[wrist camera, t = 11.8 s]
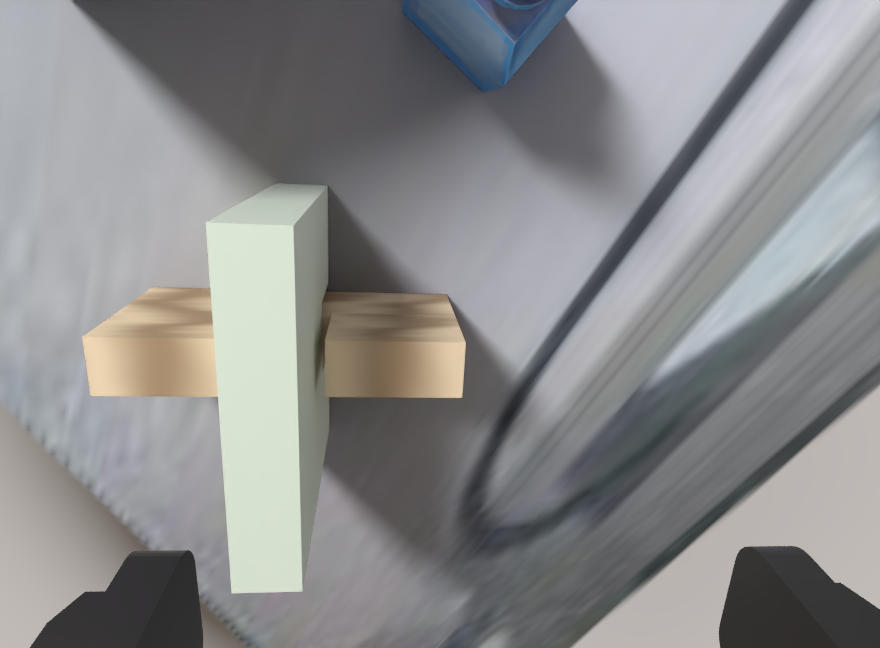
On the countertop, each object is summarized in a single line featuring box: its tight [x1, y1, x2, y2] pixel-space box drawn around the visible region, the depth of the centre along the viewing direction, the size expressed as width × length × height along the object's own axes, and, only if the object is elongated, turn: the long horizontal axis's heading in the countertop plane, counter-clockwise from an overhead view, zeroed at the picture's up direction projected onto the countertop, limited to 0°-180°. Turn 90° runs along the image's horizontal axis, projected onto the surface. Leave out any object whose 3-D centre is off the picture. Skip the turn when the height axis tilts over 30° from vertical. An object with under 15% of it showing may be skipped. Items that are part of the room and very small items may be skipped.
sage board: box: [206, 183, 329, 593], centre depth 31 cm, size 3×16×15 cm, turn 177°
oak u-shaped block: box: [82, 287, 466, 398], centre depth 33 cm, size 18×3×9 cm, turn 87°
